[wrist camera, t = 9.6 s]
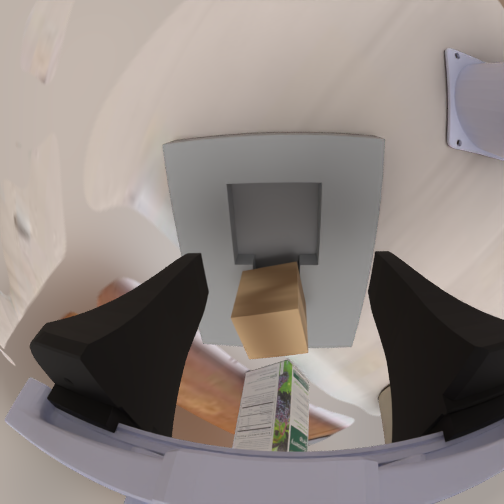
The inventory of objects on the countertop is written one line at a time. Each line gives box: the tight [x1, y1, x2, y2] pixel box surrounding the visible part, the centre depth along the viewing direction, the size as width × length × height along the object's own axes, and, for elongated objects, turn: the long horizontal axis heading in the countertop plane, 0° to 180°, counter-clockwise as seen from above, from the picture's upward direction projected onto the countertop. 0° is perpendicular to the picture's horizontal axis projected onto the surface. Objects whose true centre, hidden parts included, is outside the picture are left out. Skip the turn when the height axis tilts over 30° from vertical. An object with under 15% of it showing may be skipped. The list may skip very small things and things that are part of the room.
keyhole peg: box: [231, 262, 308, 359], centre depth 19 cm, size 4×4×6 cm
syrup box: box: [232, 360, 309, 452], centre depth 23 cm, size 6×6×14 cm
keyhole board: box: [163, 132, 385, 348], centre depth 20 cm, size 14×18×2 cm
